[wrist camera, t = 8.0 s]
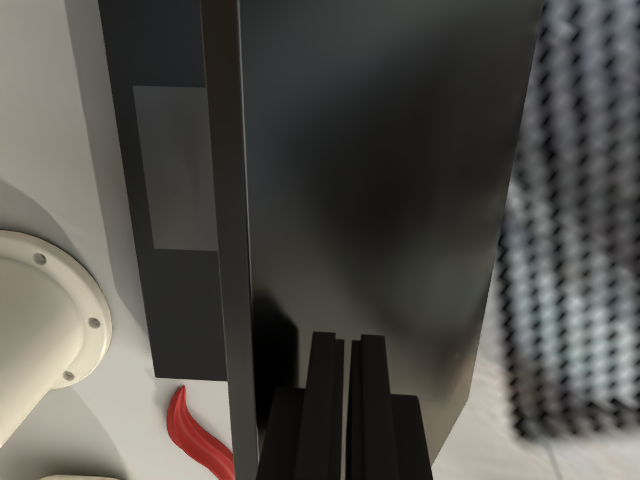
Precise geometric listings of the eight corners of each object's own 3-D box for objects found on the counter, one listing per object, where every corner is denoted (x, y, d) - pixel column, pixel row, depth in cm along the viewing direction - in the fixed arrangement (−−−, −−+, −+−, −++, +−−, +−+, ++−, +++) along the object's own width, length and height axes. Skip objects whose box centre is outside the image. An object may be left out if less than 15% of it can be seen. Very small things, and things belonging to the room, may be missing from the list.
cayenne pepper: (156, 388, 36) (146, 406, 34) (213, 382, 36) (207, 400, 34) (197, 497, 41) (191, 518, 39) (249, 493, 40) (245, 514, 39)
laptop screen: (251, 739, 17) (271, 759, 16) (128, -825, 4) (195, -921, 4) (455, 394, 33) (468, 399, 32) (550, -150, 20) (573, -154, 20)
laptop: (163, 361, 35) (154, 379, 33) (93, -141, 23) (72, -155, 21) (450, 376, 34) (455, 395, 33) (535, -137, 22) (551, -151, 20)
